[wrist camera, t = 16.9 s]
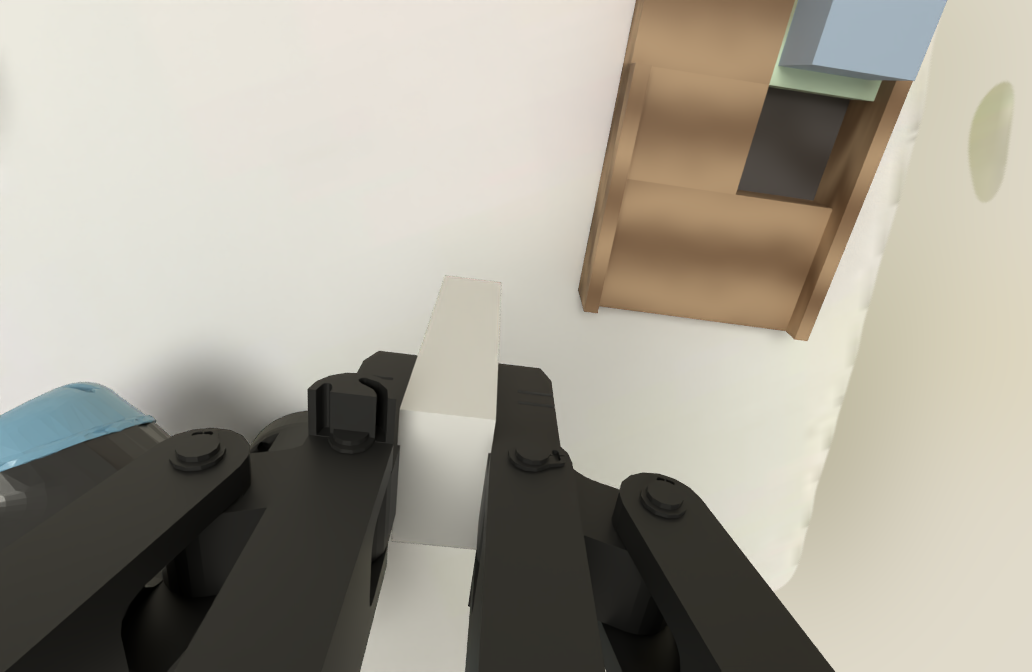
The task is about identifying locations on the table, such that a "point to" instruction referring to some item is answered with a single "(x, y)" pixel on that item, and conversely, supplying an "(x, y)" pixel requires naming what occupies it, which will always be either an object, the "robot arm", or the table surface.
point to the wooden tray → (730, 169)
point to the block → (861, 37)
